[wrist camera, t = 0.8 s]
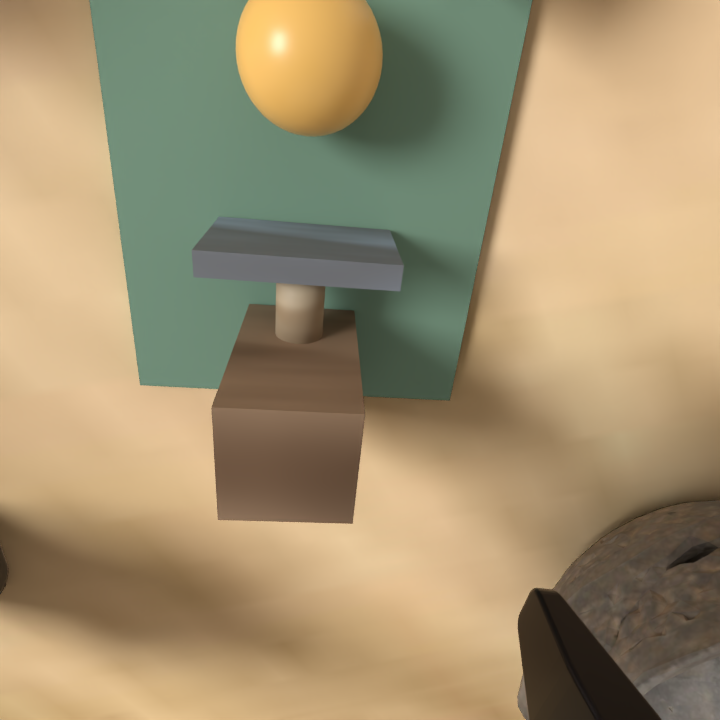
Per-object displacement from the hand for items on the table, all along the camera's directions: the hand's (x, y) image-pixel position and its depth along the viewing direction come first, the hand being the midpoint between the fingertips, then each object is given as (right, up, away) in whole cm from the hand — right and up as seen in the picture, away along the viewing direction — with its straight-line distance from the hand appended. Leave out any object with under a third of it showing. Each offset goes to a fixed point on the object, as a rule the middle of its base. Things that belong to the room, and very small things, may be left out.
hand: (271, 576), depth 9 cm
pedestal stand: (-1, +5, +11) cm, 12 cm away
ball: (0, +12, +5) cm, 13 cm away
